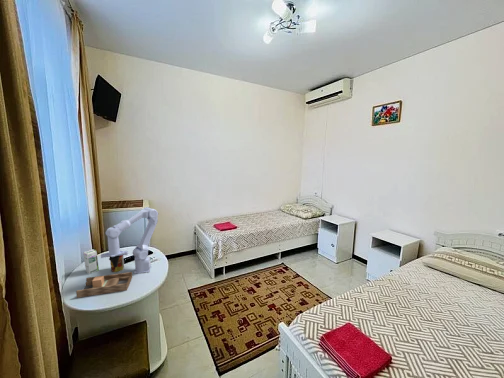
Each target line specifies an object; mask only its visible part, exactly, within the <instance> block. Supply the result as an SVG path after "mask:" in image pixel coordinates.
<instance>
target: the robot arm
mask: <svg viewBox="0 0 504 378" xmlns="http://www.w3.org/2000/svg"><path fill="white" fill-rule="evenodd" d="M158 217H159V212H158V210H156V209H155V208H150V206H149V207H148V206H147V207H144V208H142V209H140V211H139V212H137V213H135V214H134V215H133V216H131V217H130V218H128V219H123V220H120V222H119V223H117V224H115V225H112V226H111V227H108V228H107V229H106V231H105V234H104V235H106V237H107V245H108V246H107V247H108V252H105V253H100V259H103V258H108V260H109V261H111V262H112V264H113V266H114V268H116V267H117V266H118V261H119V258H120V256H121V255H123V256H128V255H129V251H128V250H125V251H124V250H121V249H120V239H119V236H120V235H121V233H123V232H124V231H126V230H127V229H129V228H130V227H131V225H132V224H134V223H136V222H137V221H140V219H146V220H147V221H148V223H147V225H146V228H145V230H144V232H143V235H142V237H141V239H140V241H139V243H138V244H137V245H136V246H135V248H134V249H133V250H132V255H133V256H134V266H135V267H134V268H135V269H134V272H133V274H134V275H135V274H144V273H149V272H150V270H151V268H152V266H151V265H152V264H151V256H150V257H149V256H148V255H149V250H150V249H149V244H150V241H151V239H152V237H153V233H154V232H155V229H156V227H157V224H158V222H159V221H158V220H159V219H158Z"/></svg>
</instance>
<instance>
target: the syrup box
mask: <svg viewBox="0 0 504 378" xmlns="http://www.w3.org/2000/svg"><path fill="white" fill-rule="evenodd" d="M83 261H84V266H85V267H84V269H85V272H86V273H87V274H89V275H91V274H92V273H93V274H94V273H96V272H99V271H100V270H99V269H100V268H99V260H98V253H97V250H96V249H90V250H88V251H84V252H83Z"/></svg>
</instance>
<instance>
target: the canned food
mask: <svg viewBox="0 0 504 378" xmlns="http://www.w3.org/2000/svg"><path fill="white" fill-rule="evenodd" d="M109 261H110V260H109ZM124 269H125V260H124V255H121V256H120V258H119V261H118V266H117V267H116V268H114V266H113V264H112V262H111V261H110V271H111V272H112V273H119V272H122V271H123V270H124Z"/></svg>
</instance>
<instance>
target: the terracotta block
mask: <svg viewBox="0 0 504 378" xmlns="http://www.w3.org/2000/svg"><path fill="white" fill-rule="evenodd" d="M94 277H95V278H94V279H93V281H92V283H93V288H96V287H102V286H103V284H104V275H99V276H98V275H97V276H94Z"/></svg>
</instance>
